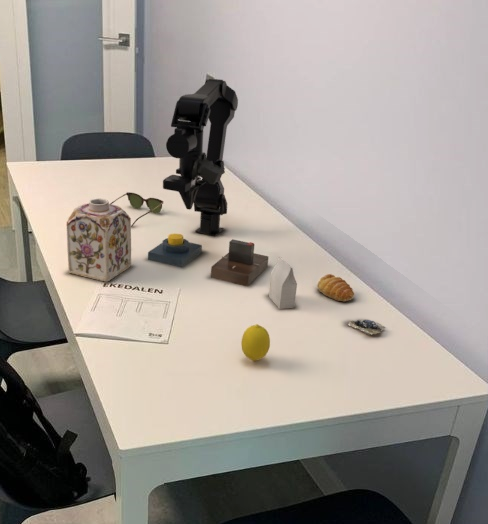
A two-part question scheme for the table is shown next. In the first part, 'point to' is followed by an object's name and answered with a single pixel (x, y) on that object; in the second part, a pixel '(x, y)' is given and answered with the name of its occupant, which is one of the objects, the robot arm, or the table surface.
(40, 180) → the table surface
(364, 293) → the table surface
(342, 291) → the pastry
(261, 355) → the lemon
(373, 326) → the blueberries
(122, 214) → the decorative jar
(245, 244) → the dark grey block
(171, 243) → the button
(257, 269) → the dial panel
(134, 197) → the sunglasses
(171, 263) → the blue button base
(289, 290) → the grey wedge block
